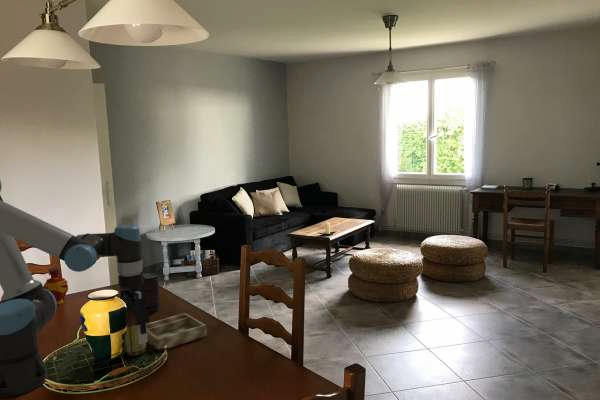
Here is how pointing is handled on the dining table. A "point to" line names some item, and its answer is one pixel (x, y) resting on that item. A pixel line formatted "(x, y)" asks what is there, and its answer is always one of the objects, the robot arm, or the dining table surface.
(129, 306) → the sauce bottle
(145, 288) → the camera lens
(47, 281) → the potion bottle
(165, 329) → the box
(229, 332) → the dining table surface
